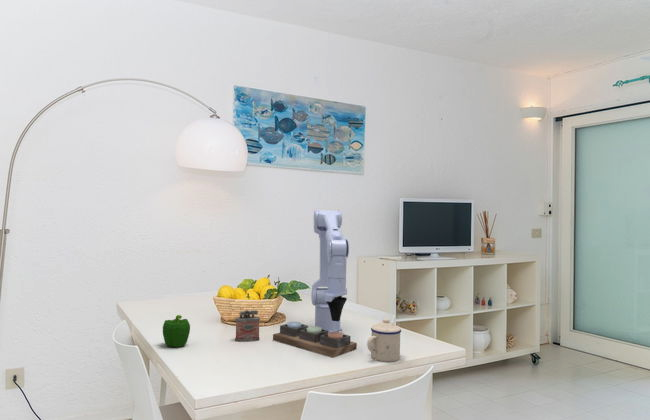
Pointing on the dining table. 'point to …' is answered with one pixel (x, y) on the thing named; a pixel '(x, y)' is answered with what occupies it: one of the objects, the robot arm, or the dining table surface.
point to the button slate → (294, 324)
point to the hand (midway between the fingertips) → (335, 320)
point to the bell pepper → (176, 331)
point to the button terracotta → (335, 335)
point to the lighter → (247, 326)
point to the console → (314, 341)
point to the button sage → (314, 329)
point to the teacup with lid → (385, 341)
